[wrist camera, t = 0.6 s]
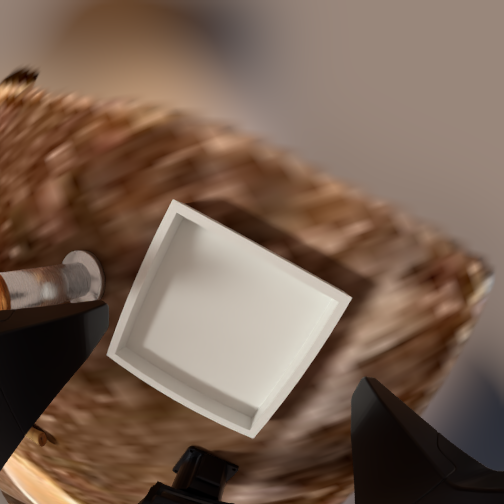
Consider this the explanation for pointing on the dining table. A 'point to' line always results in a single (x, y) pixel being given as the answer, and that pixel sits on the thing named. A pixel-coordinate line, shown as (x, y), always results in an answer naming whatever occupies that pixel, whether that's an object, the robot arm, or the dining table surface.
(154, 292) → the pin tray
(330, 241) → the dining table surface
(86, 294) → the pin
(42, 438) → the kendama
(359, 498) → the robot arm
